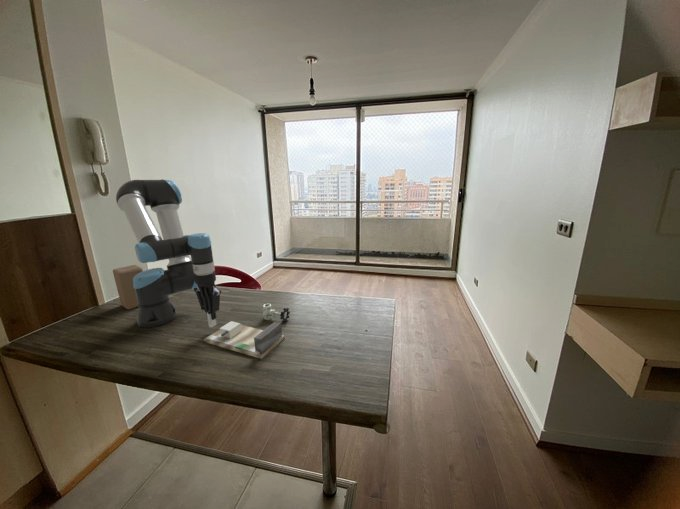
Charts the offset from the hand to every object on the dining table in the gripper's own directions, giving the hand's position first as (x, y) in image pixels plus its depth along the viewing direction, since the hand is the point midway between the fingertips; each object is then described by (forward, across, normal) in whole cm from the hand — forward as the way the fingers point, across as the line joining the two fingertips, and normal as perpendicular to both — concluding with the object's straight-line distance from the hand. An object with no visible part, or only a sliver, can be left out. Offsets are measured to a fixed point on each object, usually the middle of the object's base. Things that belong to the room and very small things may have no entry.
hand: (212, 325), depth 110 cm
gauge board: (+3, +17, 0) cm, 17 cm away
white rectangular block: (+1, +10, -1) cm, 10 cm away
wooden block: (+3, -60, +4) cm, 60 cm away
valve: (+3, +18, +18) cm, 26 cm away
